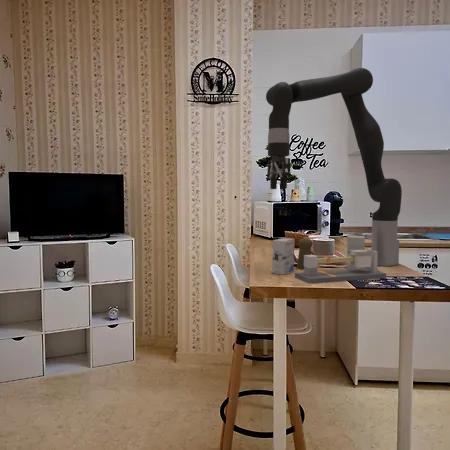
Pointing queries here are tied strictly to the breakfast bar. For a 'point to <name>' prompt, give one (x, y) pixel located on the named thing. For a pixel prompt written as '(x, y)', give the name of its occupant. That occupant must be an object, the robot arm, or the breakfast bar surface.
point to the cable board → (316, 276)
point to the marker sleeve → (360, 258)
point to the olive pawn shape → (303, 251)
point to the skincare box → (355, 246)
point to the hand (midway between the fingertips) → (278, 189)
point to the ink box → (283, 256)
